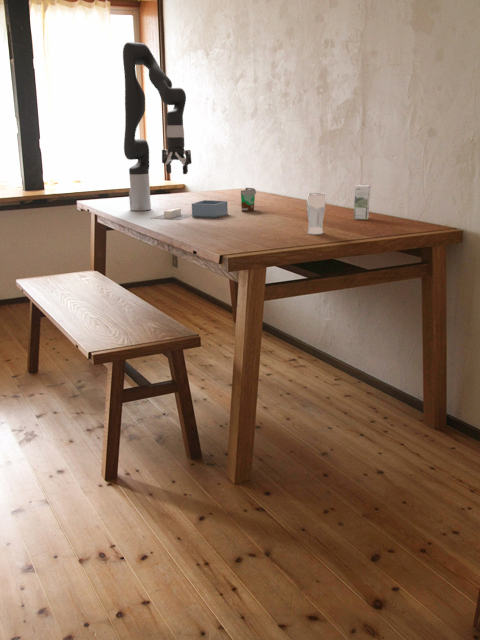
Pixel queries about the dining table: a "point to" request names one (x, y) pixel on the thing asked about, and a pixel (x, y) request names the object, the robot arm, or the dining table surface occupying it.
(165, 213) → the lid
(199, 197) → the dining table surface
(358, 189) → the syrup box
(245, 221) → the dining table surface
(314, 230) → the beer glass
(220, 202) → the dish
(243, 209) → the food container
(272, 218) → the dining table surface
